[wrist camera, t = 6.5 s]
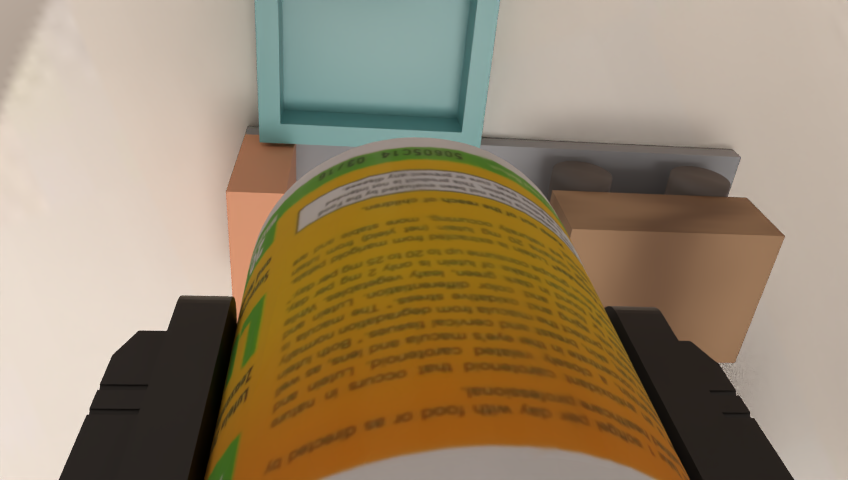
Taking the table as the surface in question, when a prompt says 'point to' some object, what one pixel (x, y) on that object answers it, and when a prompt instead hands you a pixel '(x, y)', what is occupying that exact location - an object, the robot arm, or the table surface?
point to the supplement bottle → (427, 334)
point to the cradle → (373, 70)
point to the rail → (628, 164)
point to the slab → (671, 250)
